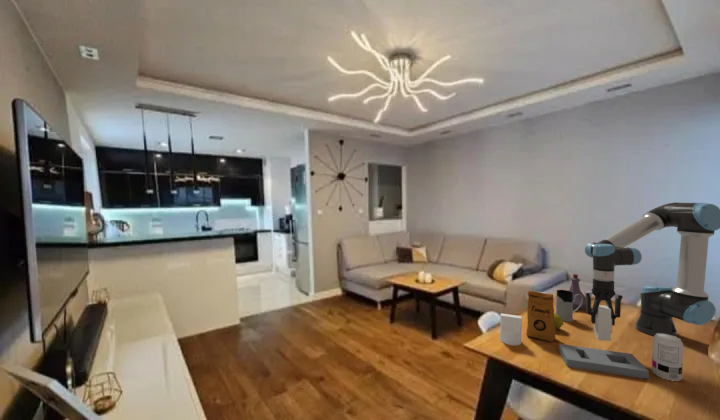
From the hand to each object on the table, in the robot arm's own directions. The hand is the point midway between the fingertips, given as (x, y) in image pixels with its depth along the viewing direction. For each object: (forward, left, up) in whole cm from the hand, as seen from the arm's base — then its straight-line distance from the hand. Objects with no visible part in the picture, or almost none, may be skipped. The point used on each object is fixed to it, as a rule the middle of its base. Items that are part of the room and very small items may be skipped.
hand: (602, 331), depth 141 cm
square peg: (0, 0, -3) cm, 3 cm away
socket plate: (+5, +15, -8) cm, 18 cm away
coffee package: (+23, -4, -8) cm, 25 cm away
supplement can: (-15, +17, -8) cm, 24 cm away
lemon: (+16, -18, -8) cm, 26 cm away
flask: (-4, -58, -8) cm, 58 cm away
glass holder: (+4, -36, -8) cm, 37 cm away
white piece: (+37, +5, -8) cm, 39 cm away
